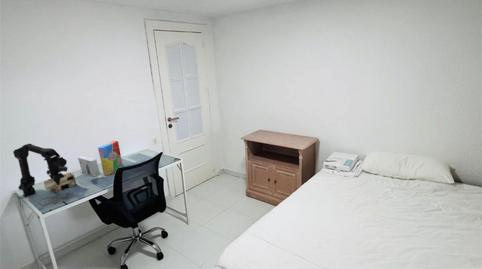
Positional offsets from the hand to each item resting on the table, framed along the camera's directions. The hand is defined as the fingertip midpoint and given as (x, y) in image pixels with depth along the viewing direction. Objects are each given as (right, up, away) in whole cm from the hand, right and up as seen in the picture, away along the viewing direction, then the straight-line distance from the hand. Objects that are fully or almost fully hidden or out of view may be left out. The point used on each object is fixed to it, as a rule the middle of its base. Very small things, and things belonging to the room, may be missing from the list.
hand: (57, 184), depth 190 cm
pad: (-2, -12, -1) cm, 12 cm away
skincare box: (0, +1, +42) cm, 42 cm away
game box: (+19, +3, +47) cm, 51 cm away
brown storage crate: (-8, -6, +17) cm, 20 cm away
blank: (0, -1, 0) cm, 2 cm away
